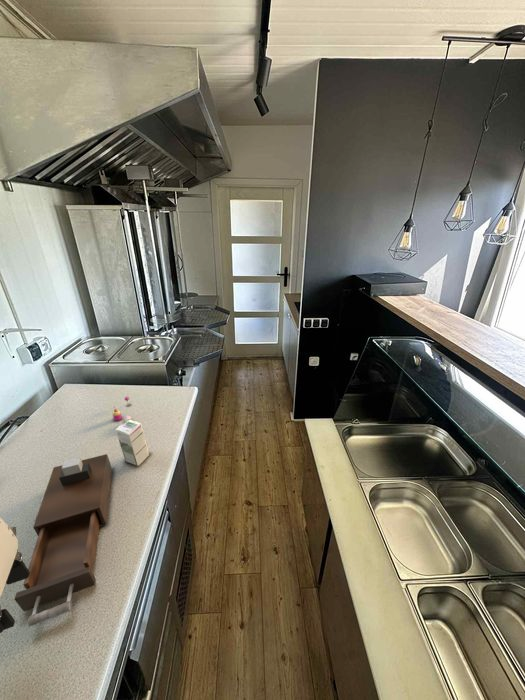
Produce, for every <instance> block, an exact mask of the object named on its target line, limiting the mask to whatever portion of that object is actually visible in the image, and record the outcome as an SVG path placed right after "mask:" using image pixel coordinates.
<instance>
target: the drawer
mask: <svg viewBox="0 0 525 700" xmlns="http://www.w3.org/2000/svg"><path fill="white" fill-rule="evenodd" d="M99 524H100V517H99V514H98V512H97V510H96V511H93V512H90V513H86V514H83V515H80V516H77V517H73V518H70V519H67V520H63V521H60V522H57V523H54V524H50V525H47V526H44V527H41V530H40V533H39V536H38V535H37V538H36V539H37V540H36V542H35V545H34V549H33V552H32V554H31V558H30V562H29V564H28V567H27V568H28V570H29V572H30V575H29V577H28V578H26V579H24V581H23V583H22V585H23V587H24V589H23V590H20V591H17V592H16V593H15V596H14V601H15V602H16V604H17V605H18V606H19V607H20V609H21V610H22V611H23V612H24V613H25V612H27V611H30V610H32V612H31V615H30V616H29V617H28V619H27V627H29V628H30V627H32V626H36V625H37V624H41V623H43V622H46V621H48V620H50V619H53V618H55V617H58V616H60V615H63V614H65V613H68V612H71V611H72V606H73V605H72V596H73V594H75V593H78V592H80V591H83V590H86V589H89V588H92V587H94V586H96V581H97V580H96V577H95V575H94V568H95V560H96V553H97V546H98V539H99V530H100V527H99ZM64 597H65V598H66V602H64V603H60V604H59V605H55V606H53V607H51V608H48V609H46V610H42V611H40V612H38V609H39V607H41V606H44V605H46V604H48V603H51V602H54V601H57V600H59V599H62V598H64Z"/></svg>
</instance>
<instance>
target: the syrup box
mask: <svg viewBox="0 0 525 700" xmlns="http://www.w3.org/2000/svg"><path fill="white" fill-rule="evenodd" d="M115 432H116V435H117V438H118V442H119V446H120V449H121V452H122V455H123V458H124V461H125V462H126V463H129V464H131V465H134V466H137V467H138V466H140V465H141V464H142V463H143V462H144V461H145V460H146V459H147V458H148V457H149V456H150V452H149V449H148V445H147V441H146V440H147V439H146V437H145V432H144V429H143V425H142V422H138V421H136V420H132V419H131V420H129V419H128V420H126V421H123V422H122V423H121V424H120V425H119V426H117V428H115Z"/></svg>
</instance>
